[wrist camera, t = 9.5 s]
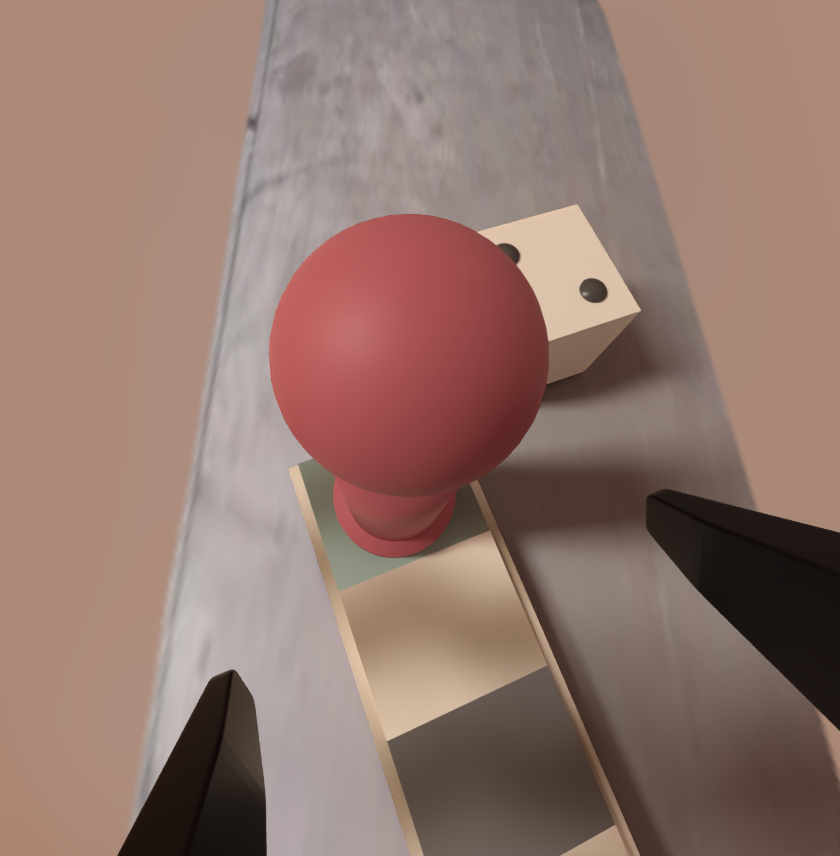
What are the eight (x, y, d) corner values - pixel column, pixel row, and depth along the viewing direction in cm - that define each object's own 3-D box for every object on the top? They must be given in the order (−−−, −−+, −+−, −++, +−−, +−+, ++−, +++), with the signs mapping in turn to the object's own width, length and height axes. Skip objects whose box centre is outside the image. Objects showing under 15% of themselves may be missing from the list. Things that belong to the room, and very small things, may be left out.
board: (778, 1193, 13) (808, 1239, 12) (571, 1355, 12) (587, 1420, 11) (446, 419, 20) (449, 411, 19) (292, 473, 19) (287, 467, 18)
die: (584, 371, 21) (642, 309, 17) (486, 405, 21) (517, 350, 16) (536, 282, 23) (577, 201, 18) (442, 310, 22) (458, 234, 17)
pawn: (469, 532, 18) (692, 391, 5) (358, 576, 17) (276, 548, 4) (426, 429, 19) (515, 96, 6) (321, 465, 18) (168, 173, 5)
